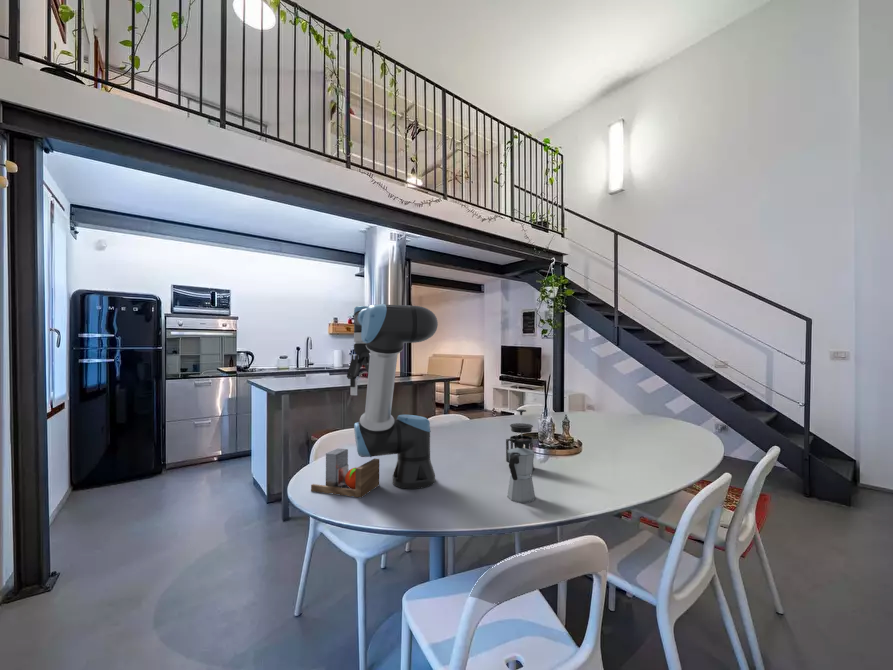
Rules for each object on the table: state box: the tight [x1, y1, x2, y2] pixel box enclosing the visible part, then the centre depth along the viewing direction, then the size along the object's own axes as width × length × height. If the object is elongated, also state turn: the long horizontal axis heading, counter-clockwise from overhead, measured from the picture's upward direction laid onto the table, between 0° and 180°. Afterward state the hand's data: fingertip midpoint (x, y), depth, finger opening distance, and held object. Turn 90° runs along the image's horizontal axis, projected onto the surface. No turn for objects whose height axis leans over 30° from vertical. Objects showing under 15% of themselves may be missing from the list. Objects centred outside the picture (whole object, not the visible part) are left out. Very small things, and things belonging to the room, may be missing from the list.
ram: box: [325, 447, 349, 488], centre depth 131 cm, size 5×7×12 cm, turn 161°
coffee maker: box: [506, 439, 536, 504], centre depth 120 cm, size 15×9×18 cm, turn 149°
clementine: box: [345, 467, 357, 489], centre depth 129 cm, size 8×7×7 cm
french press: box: [505, 409, 535, 472], centre depth 151 cm, size 12×9×23 cm
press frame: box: [310, 458, 380, 498], centre depth 130 cm, size 19×12×9 cm, turn 71°
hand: (362, 393), depth 161 cm, fingers open, 13 cm apart
